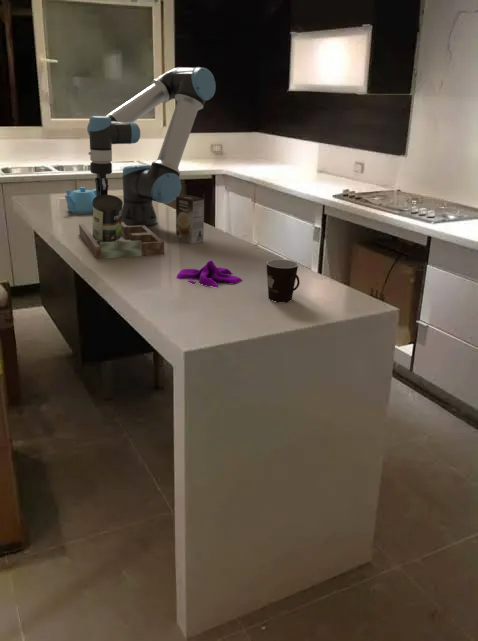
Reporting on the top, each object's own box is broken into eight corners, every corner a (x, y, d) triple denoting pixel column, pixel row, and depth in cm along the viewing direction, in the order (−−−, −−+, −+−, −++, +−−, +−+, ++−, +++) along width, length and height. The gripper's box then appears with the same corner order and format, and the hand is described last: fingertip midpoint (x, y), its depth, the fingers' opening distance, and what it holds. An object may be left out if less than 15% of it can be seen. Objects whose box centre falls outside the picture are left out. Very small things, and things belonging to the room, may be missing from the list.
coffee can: (125, 232, 228) (126, 198, 219) (115, 246, 220) (116, 212, 211) (98, 225, 229) (99, 191, 219) (87, 239, 221) (87, 205, 212)
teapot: (102, 215, 268) (100, 189, 264) (66, 215, 265) (64, 190, 261) (101, 208, 282) (100, 184, 278) (67, 208, 279) (65, 184, 275)
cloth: (167, 274, 190) (167, 254, 188) (222, 268, 198) (223, 249, 196) (195, 295, 172) (195, 274, 170) (254, 288, 180) (255, 268, 177)
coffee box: (175, 239, 230) (174, 196, 224) (187, 237, 235) (187, 194, 229) (191, 244, 224) (192, 199, 219) (204, 241, 229) (205, 198, 223)
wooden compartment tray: (139, 231, 241) (139, 218, 239) (164, 254, 210) (164, 239, 208) (79, 234, 232) (78, 221, 231) (96, 259, 201) (95, 244, 200)
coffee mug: (262, 293, 174) (264, 259, 170) (293, 293, 174) (295, 259, 171) (268, 307, 163) (270, 271, 159) (300, 307, 164) (302, 271, 160)
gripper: (87, 159, 224) (89, 223, 232) (93, 164, 213) (95, 231, 221) (108, 159, 226) (109, 223, 235) (115, 164, 215) (116, 231, 224)
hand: (102, 227), depth 228 cm, fingers closed
